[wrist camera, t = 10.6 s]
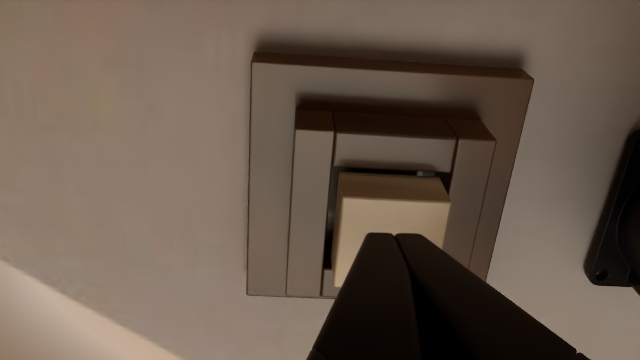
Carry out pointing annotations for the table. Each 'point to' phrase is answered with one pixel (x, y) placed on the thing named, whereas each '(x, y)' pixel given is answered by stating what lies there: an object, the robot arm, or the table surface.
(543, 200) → the table surface
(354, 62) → the block
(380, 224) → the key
